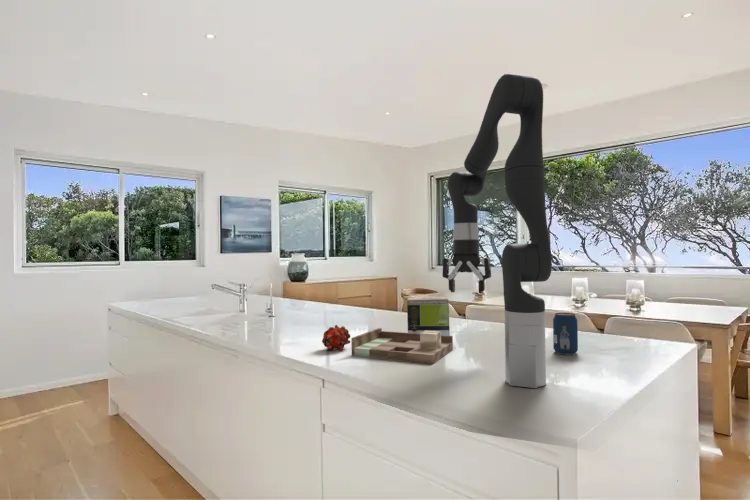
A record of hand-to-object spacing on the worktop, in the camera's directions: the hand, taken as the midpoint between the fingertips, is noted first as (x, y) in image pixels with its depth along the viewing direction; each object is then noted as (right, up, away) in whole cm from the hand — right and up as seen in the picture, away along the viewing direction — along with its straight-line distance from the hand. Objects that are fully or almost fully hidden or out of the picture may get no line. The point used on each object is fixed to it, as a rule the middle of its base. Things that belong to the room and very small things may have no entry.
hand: (466, 292), depth 139 cm
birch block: (-11, -17, +2) cm, 20 cm away
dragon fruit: (-40, -20, +12) cm, 46 cm away
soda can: (+31, -19, +3) cm, 37 cm away
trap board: (-19, -19, +6) cm, 27 cm away
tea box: (-8, -20, +31) cm, 37 cm away
